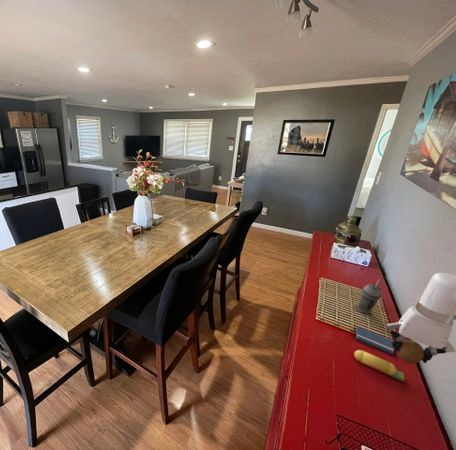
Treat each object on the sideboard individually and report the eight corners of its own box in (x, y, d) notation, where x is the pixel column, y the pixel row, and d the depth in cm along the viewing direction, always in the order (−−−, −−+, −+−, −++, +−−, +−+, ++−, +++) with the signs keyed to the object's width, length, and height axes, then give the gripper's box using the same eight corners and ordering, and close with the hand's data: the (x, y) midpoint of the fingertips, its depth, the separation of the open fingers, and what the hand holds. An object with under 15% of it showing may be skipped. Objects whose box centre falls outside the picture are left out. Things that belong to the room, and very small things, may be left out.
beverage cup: (371, 309, 122) (387, 277, 115) (373, 318, 117) (391, 284, 109) (353, 303, 126) (368, 272, 118) (355, 312, 120) (370, 279, 112)
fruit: (390, 348, 84) (399, 332, 81) (414, 357, 82) (424, 339, 78) (395, 362, 79) (405, 345, 76) (421, 372, 77) (432, 354, 73)
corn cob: (401, 375, 90) (406, 367, 88) (402, 384, 87) (408, 376, 85) (352, 353, 98) (356, 345, 96) (352, 360, 95) (356, 352, 93)
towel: (390, 342, 104) (392, 339, 103) (392, 354, 98) (394, 352, 97) (356, 328, 110) (357, 325, 110) (356, 339, 105) (357, 336, 104)
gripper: (472, 317, 70) (443, 360, 77) (393, 293, 80) (373, 333, 87) (483, 333, 65) (450, 378, 72) (397, 306, 74) (375, 347, 81)
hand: (408, 353), depth 79 cm, fingers closed on fruit, 6 cm apart
